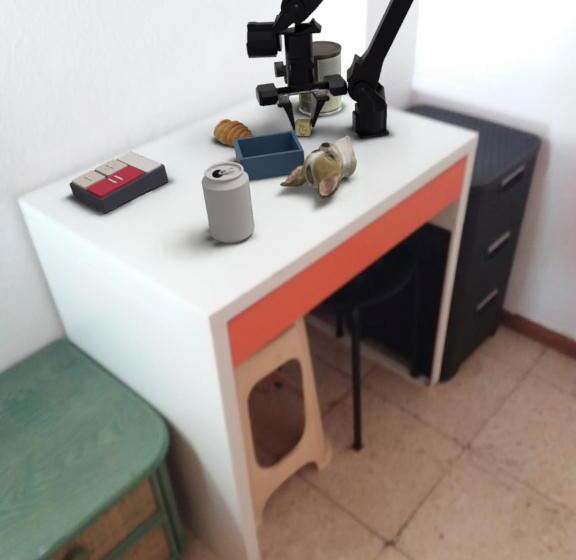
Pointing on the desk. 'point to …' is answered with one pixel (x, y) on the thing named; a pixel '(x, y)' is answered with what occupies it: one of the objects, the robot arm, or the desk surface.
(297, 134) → the alphabet block
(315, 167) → the ceramic sculpture
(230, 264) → the desk surface
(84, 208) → the desk surface
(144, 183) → the multicoloured piece
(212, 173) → the can
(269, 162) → the blue open box
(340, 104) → the coffee can
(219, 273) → the desk surface
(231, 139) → the pastry
